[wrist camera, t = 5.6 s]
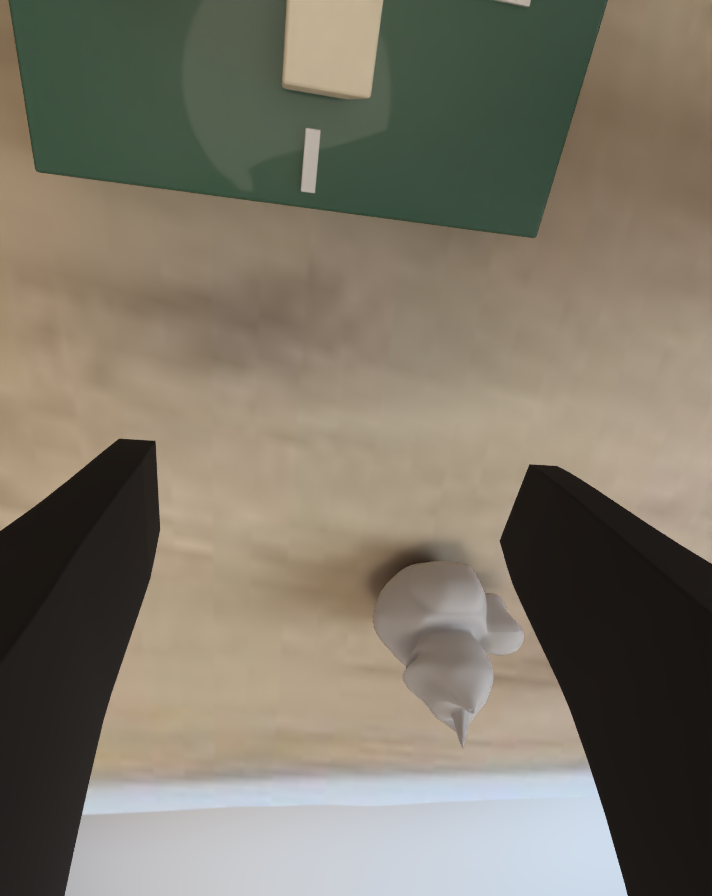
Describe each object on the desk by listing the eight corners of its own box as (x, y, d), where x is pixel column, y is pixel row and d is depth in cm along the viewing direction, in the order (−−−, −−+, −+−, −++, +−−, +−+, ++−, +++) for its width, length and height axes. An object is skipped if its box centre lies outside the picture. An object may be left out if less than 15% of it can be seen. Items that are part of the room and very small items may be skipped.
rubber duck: (377, 536, 24) (415, 705, 17) (514, 541, 25) (599, 701, 18) (358, 618, 27) (384, 790, 20) (482, 619, 28) (545, 782, 21)
